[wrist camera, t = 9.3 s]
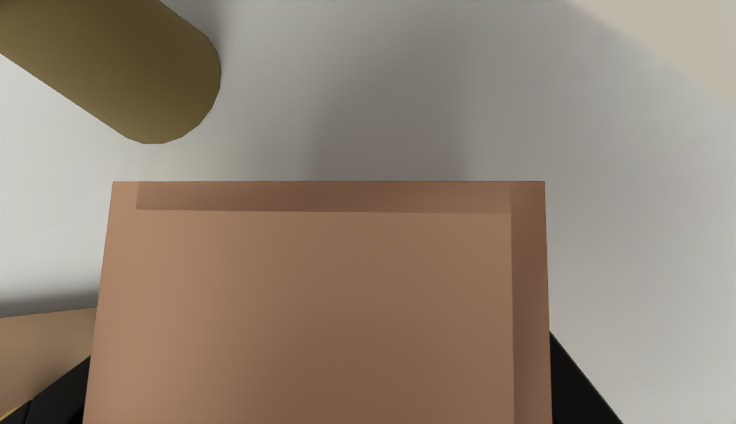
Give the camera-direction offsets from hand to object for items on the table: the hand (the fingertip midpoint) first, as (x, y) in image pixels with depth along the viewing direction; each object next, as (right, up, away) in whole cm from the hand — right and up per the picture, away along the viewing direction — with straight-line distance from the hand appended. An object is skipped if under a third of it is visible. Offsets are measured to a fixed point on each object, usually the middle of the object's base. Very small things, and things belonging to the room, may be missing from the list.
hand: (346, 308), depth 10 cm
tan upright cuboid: (+1, -2, +5) cm, 6 cm away
